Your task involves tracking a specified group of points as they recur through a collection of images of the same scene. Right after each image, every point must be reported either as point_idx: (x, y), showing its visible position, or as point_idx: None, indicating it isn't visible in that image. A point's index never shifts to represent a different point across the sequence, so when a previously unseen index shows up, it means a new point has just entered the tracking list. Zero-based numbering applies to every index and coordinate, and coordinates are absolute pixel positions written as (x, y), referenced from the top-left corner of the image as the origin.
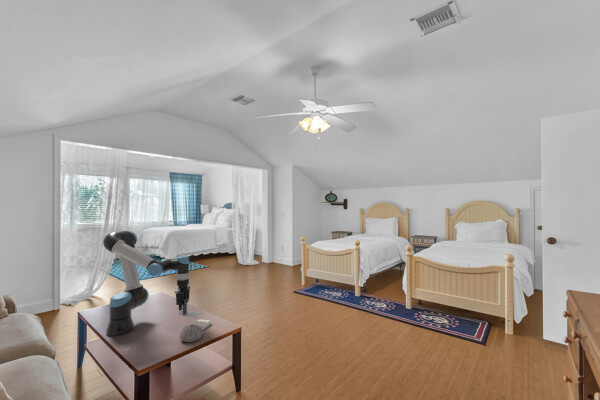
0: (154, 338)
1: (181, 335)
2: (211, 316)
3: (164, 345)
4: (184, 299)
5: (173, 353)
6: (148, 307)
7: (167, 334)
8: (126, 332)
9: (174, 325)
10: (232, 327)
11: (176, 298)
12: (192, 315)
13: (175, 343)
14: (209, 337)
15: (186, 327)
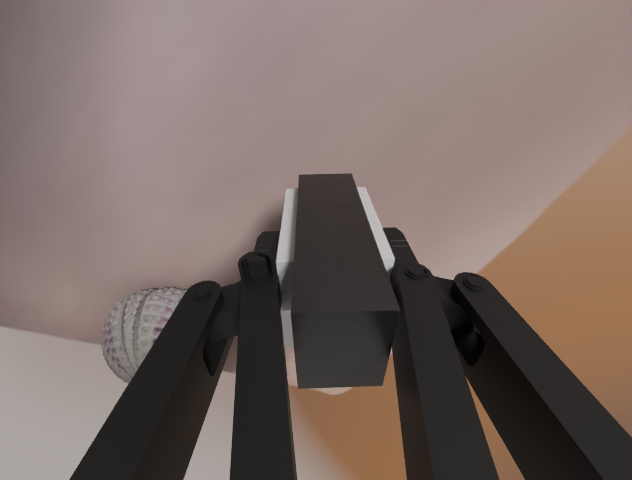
0: (26, 115)
1: (103, 331)
2: (475, 268)
3: (39, 251)
4: (346, 373)
5: (38, 326)
6: None
7: (136, 168)
8: None
9: (285, 103)
10: (339, 387)
11: (104, 440)
12: (288, 320)
13: (97, 285)
14: (228, 364)
15: (124, 366)
